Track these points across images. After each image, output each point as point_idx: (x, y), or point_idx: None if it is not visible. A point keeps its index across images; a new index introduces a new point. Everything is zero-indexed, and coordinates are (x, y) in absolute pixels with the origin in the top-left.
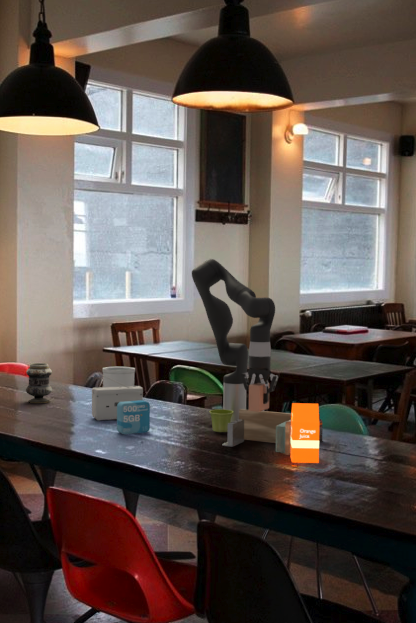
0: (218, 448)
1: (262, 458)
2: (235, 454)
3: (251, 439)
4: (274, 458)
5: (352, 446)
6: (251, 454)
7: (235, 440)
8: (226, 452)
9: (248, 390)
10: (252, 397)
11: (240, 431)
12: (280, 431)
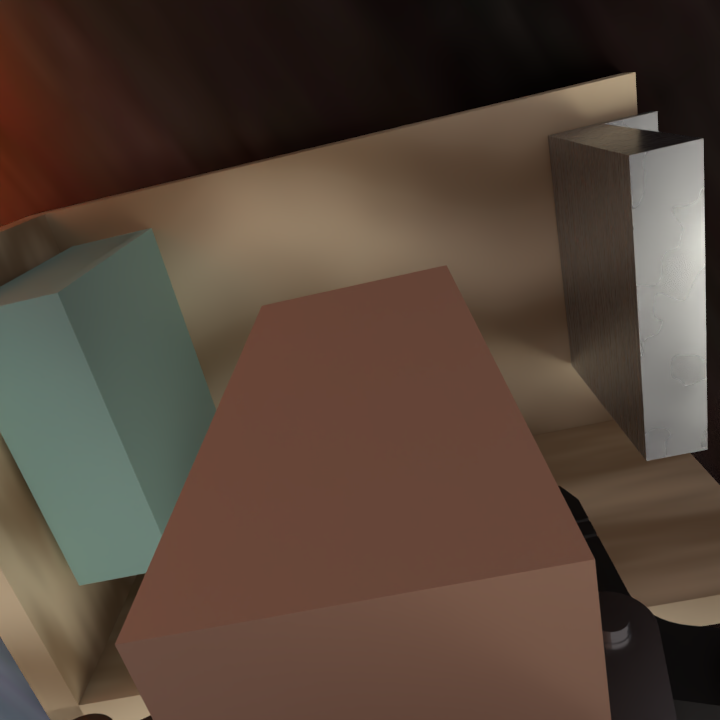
0: (682, 116)
1: (162, 53)
2: (433, 17)
3: (547, 437)
4: (94, 126)
5: (10, 716)
6: (326, 119)
7: (568, 206)
8: (542, 29)
9: (688, 629)
10: (393, 373)
11: (598, 331)
12: (30, 287)
